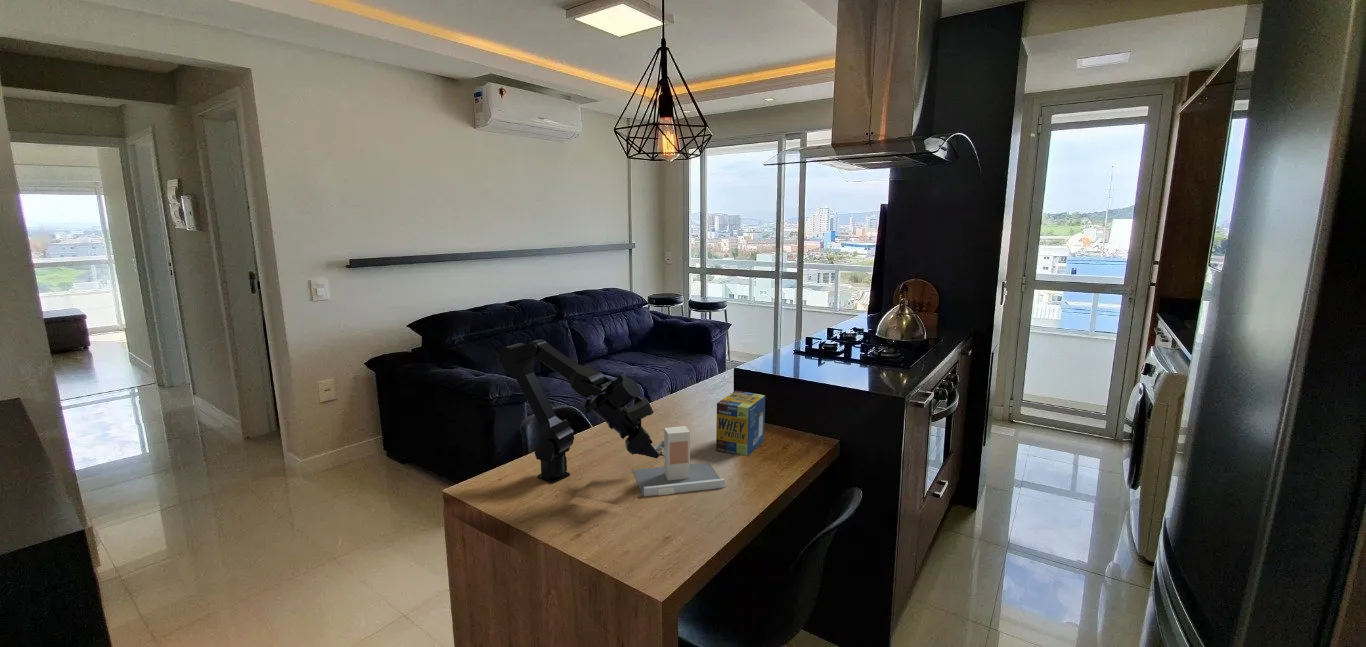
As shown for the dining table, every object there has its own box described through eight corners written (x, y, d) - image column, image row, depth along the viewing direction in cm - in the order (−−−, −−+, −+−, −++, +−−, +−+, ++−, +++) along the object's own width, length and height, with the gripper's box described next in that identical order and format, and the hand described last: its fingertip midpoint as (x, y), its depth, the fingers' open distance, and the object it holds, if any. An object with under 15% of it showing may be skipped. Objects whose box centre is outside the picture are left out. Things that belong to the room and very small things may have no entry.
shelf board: (642, 502, 141) (642, 489, 141) (632, 474, 157) (632, 463, 156) (726, 493, 147) (726, 480, 146) (708, 467, 162) (709, 455, 162)
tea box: (668, 480, 150) (667, 434, 148) (664, 473, 155) (664, 427, 152) (689, 478, 152) (690, 432, 149) (685, 471, 156) (685, 426, 154)
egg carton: (672, 463, 165) (672, 450, 165) (651, 458, 169) (650, 445, 168) (690, 450, 175) (690, 438, 174) (669, 446, 178) (669, 433, 177)
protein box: (715, 451, 174) (716, 402, 171) (734, 435, 187) (735, 389, 185) (747, 457, 169) (748, 408, 166) (764, 440, 182) (766, 394, 180)
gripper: (640, 401, 137) (684, 440, 142) (628, 381, 155) (668, 416, 160) (608, 435, 137) (653, 473, 141) (600, 410, 155) (640, 445, 159)
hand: (654, 450), depth 150 cm, fingers open, 9 cm apart
